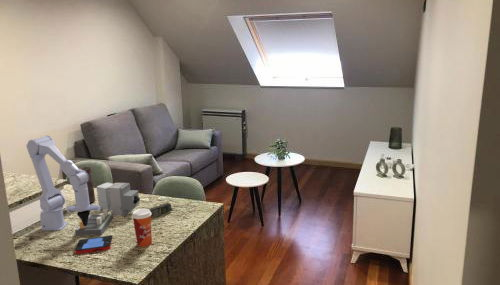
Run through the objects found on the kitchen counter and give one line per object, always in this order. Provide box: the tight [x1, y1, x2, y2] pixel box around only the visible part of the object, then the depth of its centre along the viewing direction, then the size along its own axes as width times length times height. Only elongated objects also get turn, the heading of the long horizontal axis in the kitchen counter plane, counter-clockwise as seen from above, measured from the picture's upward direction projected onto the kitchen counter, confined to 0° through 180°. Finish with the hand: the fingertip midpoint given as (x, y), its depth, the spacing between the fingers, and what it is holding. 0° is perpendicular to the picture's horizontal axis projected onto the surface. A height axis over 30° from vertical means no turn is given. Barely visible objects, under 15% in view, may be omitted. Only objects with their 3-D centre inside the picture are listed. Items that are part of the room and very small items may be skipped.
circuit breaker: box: [108, 182, 141, 217], centre depth 207 cm, size 8×14×15 cm, turn 78°
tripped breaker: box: [78, 220, 85, 229], centre depth 186 cm, size 2×2×3 cm
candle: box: [78, 166, 96, 203], centre depth 221 cm, size 8×7×20 cm
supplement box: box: [95, 181, 114, 212], centre depth 215 cm, size 7×7×13 cm
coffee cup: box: [131, 208, 153, 248], centre depth 175 cm, size 8×8×15 cm
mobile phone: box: [148, 202, 173, 220], centre depth 205 cm, size 5×3×15 cm
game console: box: [74, 234, 114, 255], centre depth 176 cm, size 14×13×2 cm
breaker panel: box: [74, 209, 114, 236], centre depth 193 cm, size 12×17×6 cm
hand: (85, 225), depth 187 cm, fingers closed
